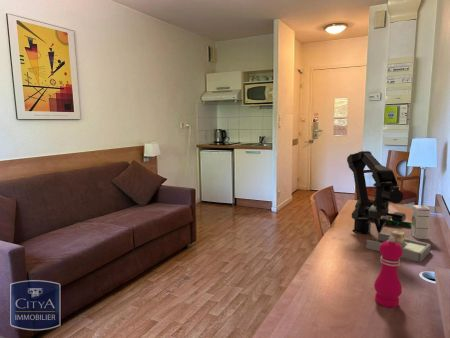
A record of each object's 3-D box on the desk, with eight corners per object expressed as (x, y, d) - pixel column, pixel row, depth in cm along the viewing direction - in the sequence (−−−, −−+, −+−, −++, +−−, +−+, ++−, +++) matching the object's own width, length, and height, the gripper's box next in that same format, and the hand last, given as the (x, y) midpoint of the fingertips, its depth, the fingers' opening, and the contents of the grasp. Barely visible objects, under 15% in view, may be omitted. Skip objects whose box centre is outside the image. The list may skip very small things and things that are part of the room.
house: (362, 222, 176) (363, 207, 175) (374, 209, 203) (375, 196, 201) (411, 230, 163) (412, 214, 162) (416, 215, 190) (418, 202, 189)
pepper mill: (368, 295, 99) (373, 232, 96) (391, 295, 100) (396, 232, 97) (381, 309, 92) (387, 241, 89) (406, 308, 92) (412, 240, 90)
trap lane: (366, 247, 138) (366, 239, 137) (378, 239, 148) (378, 232, 147) (420, 262, 124) (421, 253, 123) (429, 252, 134) (430, 244, 133)
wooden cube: (390, 241, 138) (391, 232, 138) (393, 239, 141) (394, 230, 141) (400, 244, 136) (401, 234, 135) (403, 241, 138) (404, 232, 138)
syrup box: (428, 239, 149) (431, 208, 147) (414, 238, 150) (417, 207, 148) (423, 235, 154) (426, 205, 152) (409, 234, 156) (412, 204, 154)
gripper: (352, 197, 142) (350, 231, 144) (399, 205, 129) (395, 242, 131) (363, 193, 150) (360, 226, 152) (407, 200, 137) (404, 236, 139)
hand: (379, 232), depth 143 cm, fingers closed
